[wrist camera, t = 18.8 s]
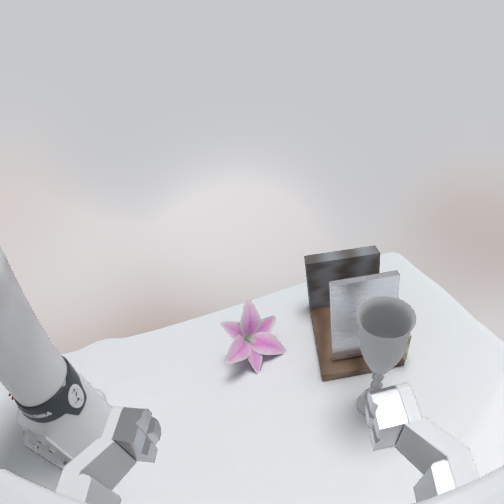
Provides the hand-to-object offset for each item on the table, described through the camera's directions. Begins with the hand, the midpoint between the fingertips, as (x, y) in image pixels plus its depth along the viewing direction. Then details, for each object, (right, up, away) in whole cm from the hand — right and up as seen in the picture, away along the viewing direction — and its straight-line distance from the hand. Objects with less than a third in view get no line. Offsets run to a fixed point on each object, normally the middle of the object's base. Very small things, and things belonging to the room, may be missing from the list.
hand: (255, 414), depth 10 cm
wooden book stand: (+18, -9, +44) cm, 49 cm away
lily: (+1, -13, +45) cm, 46 cm away
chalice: (+18, -17, +30) cm, 39 cm away
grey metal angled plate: (+19, -9, +41) cm, 46 cm away
